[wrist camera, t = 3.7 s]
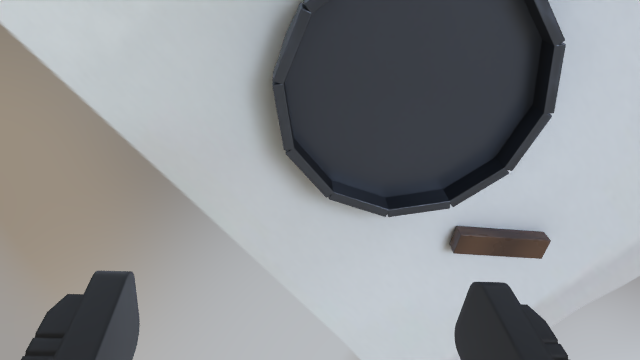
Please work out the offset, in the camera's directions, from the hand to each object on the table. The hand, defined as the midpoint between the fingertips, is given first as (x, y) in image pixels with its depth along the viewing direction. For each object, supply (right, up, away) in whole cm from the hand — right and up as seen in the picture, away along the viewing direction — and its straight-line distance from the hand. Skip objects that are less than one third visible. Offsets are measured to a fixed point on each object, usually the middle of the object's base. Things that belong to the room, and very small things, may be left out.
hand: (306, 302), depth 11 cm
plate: (+6, +9, +20) cm, 23 cm away
